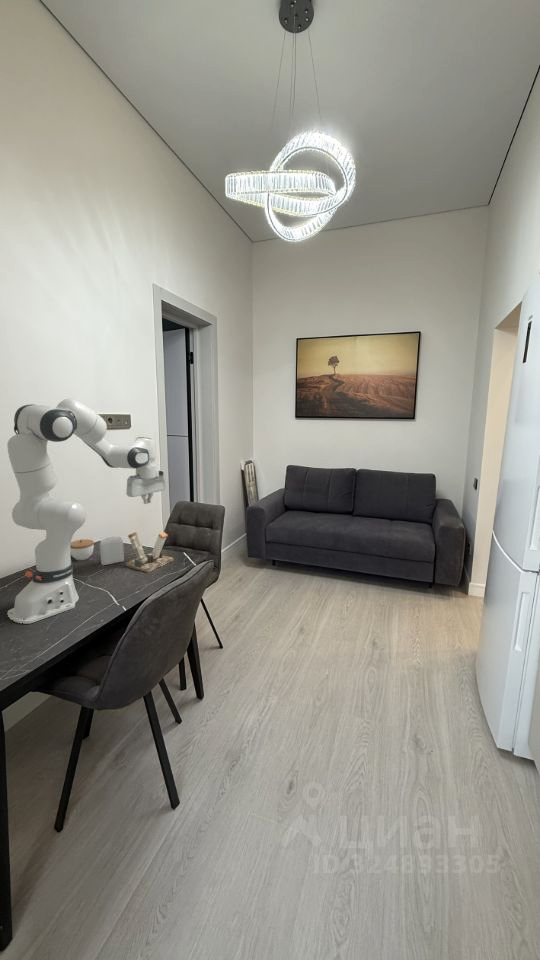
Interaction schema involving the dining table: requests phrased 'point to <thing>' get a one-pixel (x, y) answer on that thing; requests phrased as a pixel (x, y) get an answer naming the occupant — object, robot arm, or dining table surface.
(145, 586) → the dining table surface
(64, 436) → the robot arm
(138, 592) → the dining table surface
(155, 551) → the lever
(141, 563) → the console
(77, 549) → the lidded jar
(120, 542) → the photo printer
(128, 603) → the dining table surface
